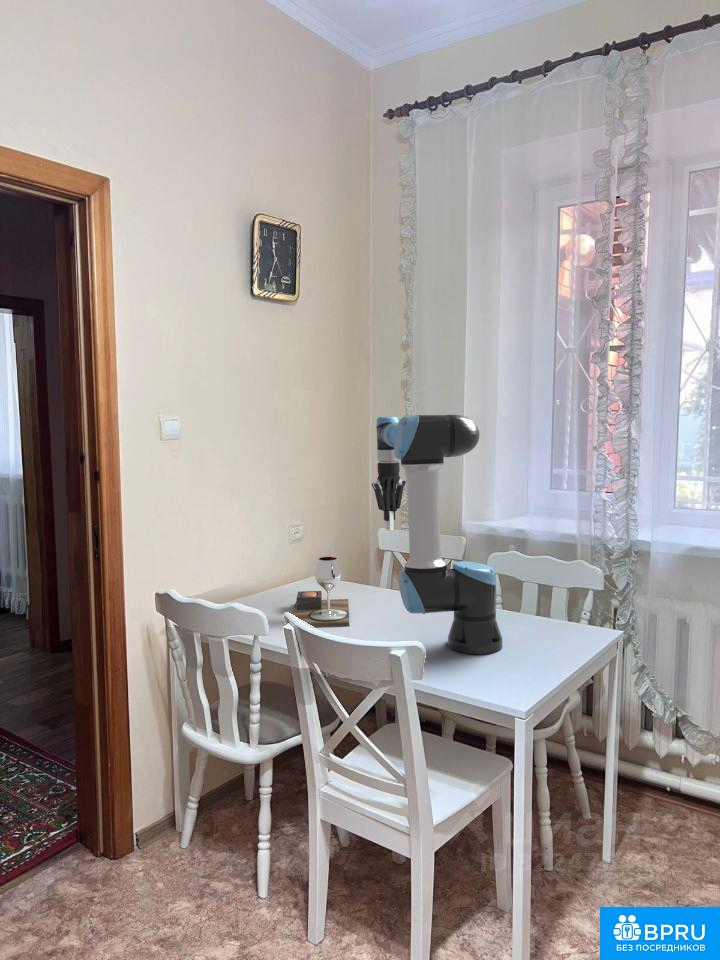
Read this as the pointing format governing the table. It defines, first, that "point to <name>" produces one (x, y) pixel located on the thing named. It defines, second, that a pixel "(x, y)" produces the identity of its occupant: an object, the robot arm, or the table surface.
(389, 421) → the robot arm
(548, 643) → the table surface
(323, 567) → the wineglass
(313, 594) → the button
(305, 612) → the board
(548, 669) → the table surface
